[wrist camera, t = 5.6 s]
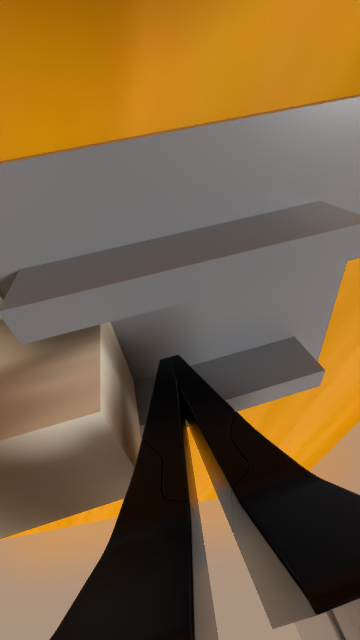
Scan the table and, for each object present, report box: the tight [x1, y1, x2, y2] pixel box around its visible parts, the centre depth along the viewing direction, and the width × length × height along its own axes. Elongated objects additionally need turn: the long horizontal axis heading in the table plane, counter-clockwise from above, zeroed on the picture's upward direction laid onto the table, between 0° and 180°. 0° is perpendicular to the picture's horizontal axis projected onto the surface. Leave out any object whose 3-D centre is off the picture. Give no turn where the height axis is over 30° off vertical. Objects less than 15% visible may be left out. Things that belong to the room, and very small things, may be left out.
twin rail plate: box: [0, 95, 360, 441], centre depth 11 cm, size 23×14×4 cm, turn 97°
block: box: [0, 320, 141, 539], centre depth 9 cm, size 5×5×5 cm
